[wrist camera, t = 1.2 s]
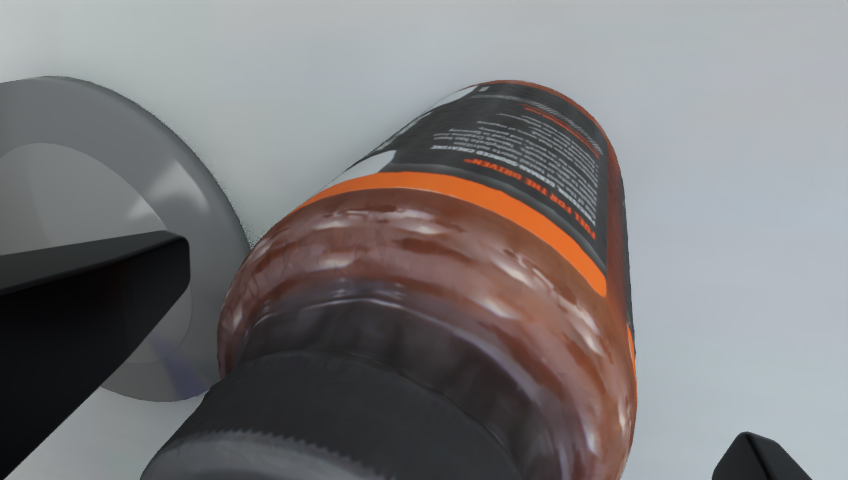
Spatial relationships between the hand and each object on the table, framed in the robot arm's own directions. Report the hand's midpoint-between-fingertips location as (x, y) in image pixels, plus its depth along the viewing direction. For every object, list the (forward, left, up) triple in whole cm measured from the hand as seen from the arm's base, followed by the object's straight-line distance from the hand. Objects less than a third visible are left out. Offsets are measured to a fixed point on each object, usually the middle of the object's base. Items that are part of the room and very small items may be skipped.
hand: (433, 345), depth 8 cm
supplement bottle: (0, 0, -8) cm, 8 cm away
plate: (-7, +14, -7) cm, 17 cm away
